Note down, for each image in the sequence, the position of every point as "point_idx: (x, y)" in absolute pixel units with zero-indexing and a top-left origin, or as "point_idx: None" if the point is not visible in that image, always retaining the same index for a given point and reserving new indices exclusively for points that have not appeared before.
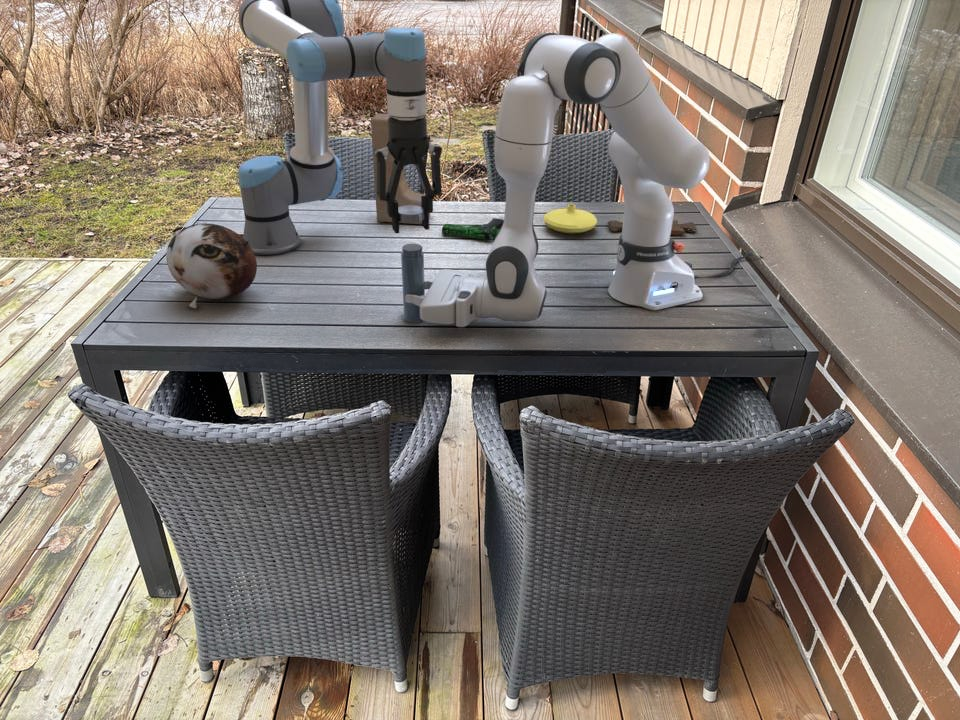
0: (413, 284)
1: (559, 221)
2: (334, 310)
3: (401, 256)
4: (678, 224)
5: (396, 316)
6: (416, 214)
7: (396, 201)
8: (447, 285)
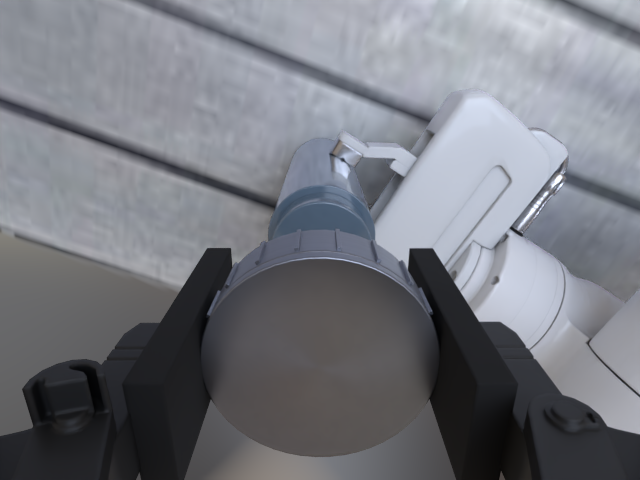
0: None
1: None
2: (92, 32)
3: (268, 236)
4: None
5: (273, 143)
6: (338, 454)
7: (169, 458)
8: (430, 244)
